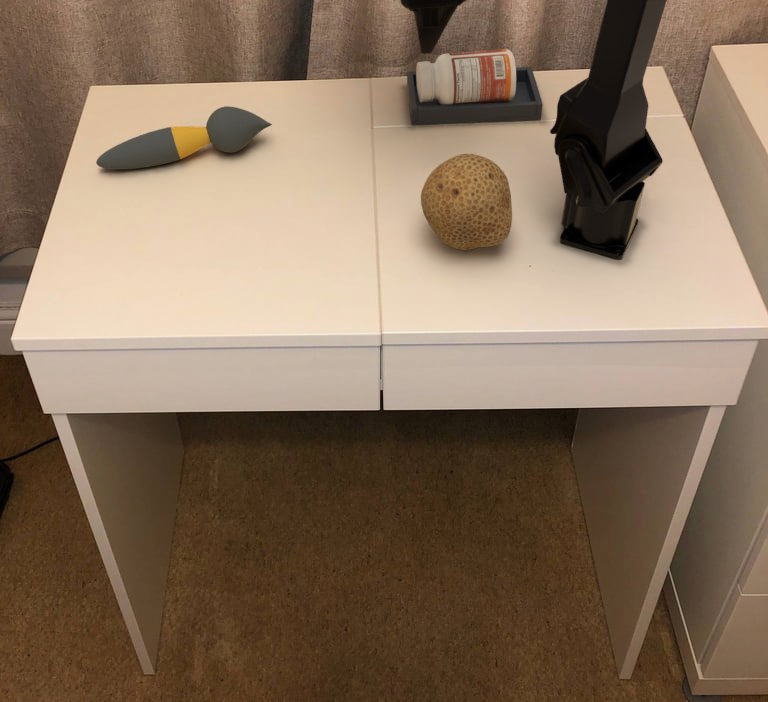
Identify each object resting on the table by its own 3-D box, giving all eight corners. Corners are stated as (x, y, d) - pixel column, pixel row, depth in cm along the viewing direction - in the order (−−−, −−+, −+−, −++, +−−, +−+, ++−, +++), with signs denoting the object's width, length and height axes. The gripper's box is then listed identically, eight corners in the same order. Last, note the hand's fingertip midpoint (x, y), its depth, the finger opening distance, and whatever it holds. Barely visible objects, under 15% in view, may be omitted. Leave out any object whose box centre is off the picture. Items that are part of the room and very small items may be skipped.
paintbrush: (104, 191, 95) (92, 153, 92) (97, 166, 98) (85, 128, 95) (277, 150, 100) (272, 112, 96) (265, 128, 103) (260, 90, 99)
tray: (529, 82, 109) (531, 66, 107) (540, 120, 103) (542, 104, 101) (406, 87, 108) (406, 71, 107) (411, 125, 103) (411, 109, 101)
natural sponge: (423, 211, 92) (424, 130, 85) (507, 215, 91) (517, 133, 84) (417, 269, 86) (418, 187, 79) (507, 273, 85) (517, 191, 78)
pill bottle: (504, 85, 107) (415, 92, 107) (508, 38, 103) (415, 45, 102) (514, 113, 103) (421, 120, 102) (519, 65, 98) (422, 72, 98)
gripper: (327, -159, 86) (336, -5, 97) (343, -83, 73) (352, 83, 85) (438, -166, 87) (434, -12, 98) (473, -92, 74) (464, 74, 86)
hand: (419, 30), depth 92 cm, fingers open, 9 cm apart
